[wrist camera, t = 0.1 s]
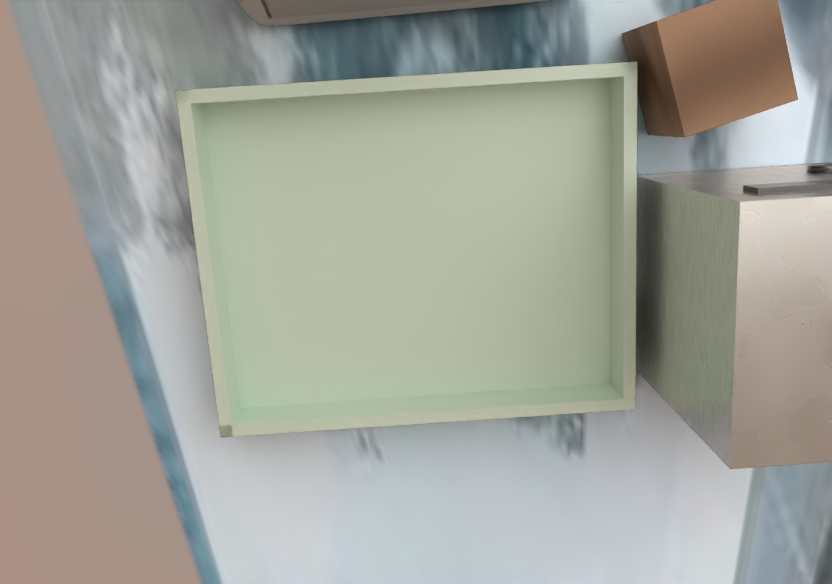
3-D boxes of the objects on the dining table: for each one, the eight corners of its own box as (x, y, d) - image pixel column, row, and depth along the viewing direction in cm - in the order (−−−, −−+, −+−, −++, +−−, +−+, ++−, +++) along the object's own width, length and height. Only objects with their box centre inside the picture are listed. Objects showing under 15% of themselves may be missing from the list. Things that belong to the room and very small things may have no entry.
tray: (192, 92, 36) (175, 90, 33) (619, 65, 36) (637, 61, 34) (232, 415, 40) (220, 437, 37) (619, 389, 40) (635, 409, 37)
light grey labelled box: (633, 169, 37) (740, 193, 26) (832, 156, 38) (1028, 174, 26) (632, 368, 40) (730, 474, 28) (819, 356, 40) (994, 455, 28)
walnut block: (621, 33, 36) (656, 21, 31) (722, -2, 36) (773, -20, 31) (647, 134, 37) (684, 137, 32) (745, 101, 37) (798, 99, 32)
